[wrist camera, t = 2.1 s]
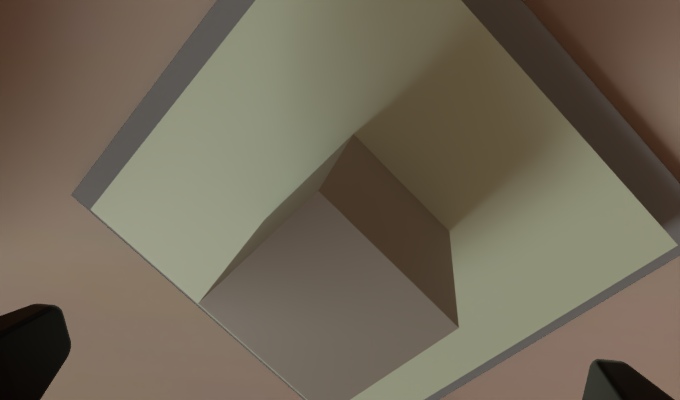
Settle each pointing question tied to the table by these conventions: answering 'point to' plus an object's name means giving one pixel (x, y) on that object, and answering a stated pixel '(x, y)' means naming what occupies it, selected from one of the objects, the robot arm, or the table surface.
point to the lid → (375, 197)
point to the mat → (527, 51)
